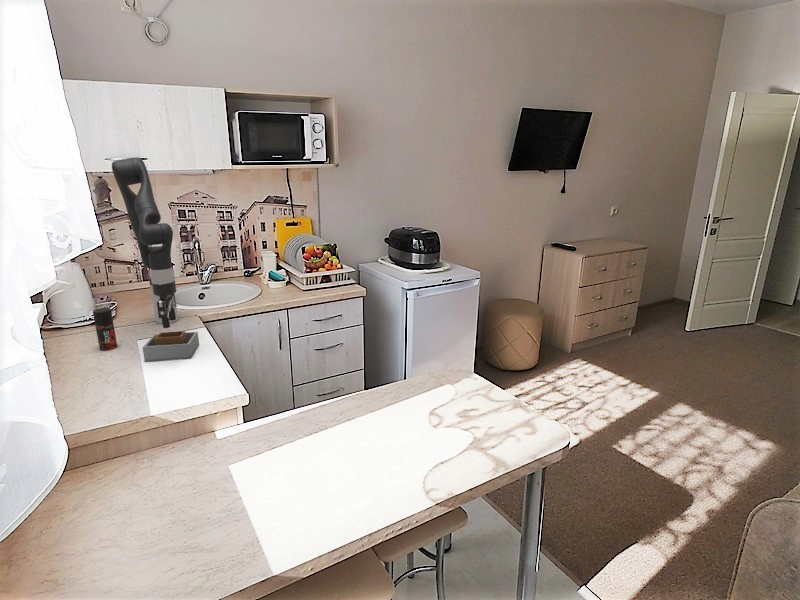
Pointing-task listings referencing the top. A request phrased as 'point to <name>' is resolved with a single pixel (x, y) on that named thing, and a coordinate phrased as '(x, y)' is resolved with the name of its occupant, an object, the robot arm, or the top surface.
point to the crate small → (171, 338)
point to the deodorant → (105, 329)
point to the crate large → (171, 349)
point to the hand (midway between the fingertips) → (169, 323)
